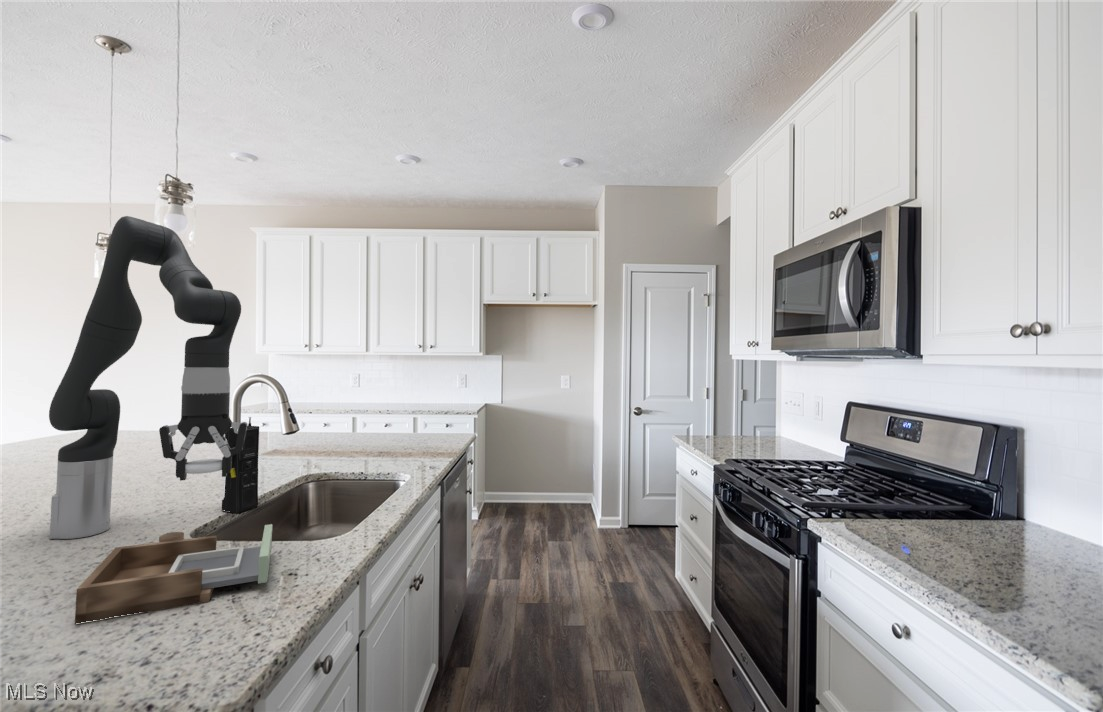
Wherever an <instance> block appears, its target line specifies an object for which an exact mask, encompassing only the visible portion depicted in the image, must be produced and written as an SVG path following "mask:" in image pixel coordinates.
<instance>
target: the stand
mask: <svg viewBox="0 0 1103 712" xmlns="http://www.w3.org/2000/svg"><path fill="white" fill-rule="evenodd" d="M183 539H185V533H184V532H183V531H173V532H169V533H168V532H167V533H164V534H162V535H159V537H158V542H166V541H174V540H183Z"/></svg>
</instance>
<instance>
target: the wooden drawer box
mask: <svg viewBox="0 0 1103 712" xmlns="http://www.w3.org/2000/svg"><path fill="white" fill-rule="evenodd" d="M217 536H218V535H209V536H200V537H193V538H184V539H183V540H174V541H166V542H159V541H158V542H157V541H156V542H151V543H150V542H149V543H144V544H143V543H142V544H134V545H125V546H115V548H114V549H113V550H112V551H111V552H110V553H109V554H108V555H107V556H106V557H105V558H104V559H103V561H101V562H100V563H99V564H98V566H97V567H96V568H95V569H94V570H93V571H91V573H90V575H88V576H87V577H86V578H85V580H84V581H83V582H82V583H81V584H80V585H79V586H78V587H77V588H76V593H75V594H76V597H75V613H74V615H75V616H74V625H75V624H76V623H81V622H86V621H93V620H100V619H105V618H109V617H114V616H121V615H127V614H134V613H139V612H146V613H149V612H148V611H152V612H157V611H156V610H158V611H163V610H168V609H173V608H174V607H175V608H180V607H185V606H192V605H198V604H202V603H203V604H204V603H208V602H210V600H211V597H212V595H213V592H214V589H215V588H209V589H203V590H202V571H203V568H200V569H193V570H186V571H179V572H172V573H168V572H169V570H170V569H171V567H172V565H173V563H174V562H175V560H176V558H177V557H178V555H182V554H190V553H197V552H205V551H213V550H217V539H218V537H217ZM100 621H101V620H100Z"/></svg>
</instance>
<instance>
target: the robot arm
mask: <svg viewBox="0 0 1103 712" xmlns="http://www.w3.org/2000/svg"><path fill="white" fill-rule="evenodd" d="M105 253H106V254H105V258H104V262H103V265H102V269H101V274H100V278H99V281H98V284H97V287H96V290H95V293H94V295H93V298H92V300H91V302H90V305H89V308H88V310H87V312H86V315H85V318H84V321H83V323H82V327H81V330H80V334H79V337H78V341H77V343H76V347H75V349H74V352H73V354H72V357H71V360H70V362H69V364H68V367H67V368H66V371H65V373H64V375H63V377H62V378H61V381H60V383H59V385H58V387H57V388H56V391H55V393H54V395H53V397H52V400H51V403H50V406H49V412H48V418H49V423H50V425H51V427H53V428H54V429H55V430H58V431H61V432H73V431H82V430H84V431H85V430H86V432H85V434H84V435H83V436H82V437H80V438H79V439H76V440H75V441H73V442H71V443H68V444H66V445H62V447H60V448H59V450H58V453H57V465H56V466H57V469H56V489H55V494H54V495H52V496H51V502H50V520H49V521H50V523H49V524H50V525H49V538H48V539H49V540H52V539H54V540H55V539H57V540H70V539H71V540H72V539H79V538H86V537H91V536H95V535H98V534H101V533H104V532H106V531H108V530H109V529H110V527H111V525H110V523H111V508H112V507H111V506H112V490H113V489H112V487H113V467H114V451H115V449H116V445H117V442H118V433H119V424H120V420H121V419H120V418H121V402H120V399H119V396H118V393H116V392H115V391H114V390H111V389H106V388H105V389H104V388H102V389H97V388H96V389H91V388H92V386H93V385H94V383H95V382H96V381H97V379H98V377H100V375H101V374H103V373H104V372H105V371H106V370H107V369H108V368H110V367H111V366H113V364H115V363H116V362H117V361H119V360H120V359H121V358H122V357H123V356H125V355H126V354H127V353H128V352H129V351H130V350H131V349H132V347H133V346H134V345H135V342H136V340H137V337H138V335H139V332H140V329H141V326H142V322H143V316H142V312H141V309H140V307H139V305H138V303H137V299H136V298H135V296H134V293H133V292H132V289H131V286H130V283H129V278H128V276H129V266H130V264H131V262H132V261H133V262H138V263H143V264H147V265H151V266H159V267H160V268H159V271H158V276H159V277H158V278H159V280H160V282H161V284H162V286H163V287H164V289H166V290H167V292H168V293H169V294H170V295H171V297H172V300H173V308H174V309H173V310H174V313H175V315H176V317H177V318H178V319H180V320H182V321H183V322H185V323H187V324H192V325H194V324H195V325H205V326H206V325H209V326H213V328H212V330H211V332H210V333H209V334H208V335H200V336H194V337H190V338H187V340H186V341H185V344H184V364H183V365H184V368H183V369H184V370H183V375H182V379H181V380H182V383H181V387H180V390H181V410H180V412H181V415H180V420H179V422H178V423H177V424H172V425H171V424H170V425H168V424H166V425H163V426H160V428H159V431H158V432H159V437H160V444H161V451H162V457H163V458H164V459H172V460H174V461H175V476H176V478H177V479H178V478H179V481H186V479H187V477H188V475H187V474H188V473H185V464H186V463H187V462H188V459H187V457H186V456H187V454H188V453H189V451H190V450H191V448H192V447H193V445H201V444H216V446H217V447H218V449H219V450H220V452H221V453H222V455H223V457H222V458H221V459H222V470H221V478H222V477H223V478H225V477H226V476H227V473H230V471H231V469H232V456H233V455H235V454H237V453H240V452H241V451H242V450H243V445H244V440H245V435H246V430H247V426H248V423H247V422H246V421H242V422H234V421H232V419H231V418H230V400H231V399H230V397H231V396H230V394H231V376H230V348H231V345H232V344H231V343H232V341H233V337H234V334H235V331H236V328H237V325H238V323H239V321H240V318H241V314H242V305H241V300H240V299H239V298H238V296H237V295H236V294H235V293H233V292H231V291H228V290H221V289H214V286H213V284H212V282H211V281H210V280H209V278H208V277H207V276H206V275H205V274H204V273H203V272H202V271H201V270H200V269H199V268H198V266H196V265H195V264H194V263H193V261H192V259H191V257H190V255H189V253H188V250H187V249H186V247H185V245H184V243H183V241H182V239H181V238H180V237H179V235H178V234H177V232H175V231H174V230H172V229H171V228H169V227H167V226H164V225H160V224H157V223H154V222H151V221H147V220H143V219H140V218H138V217H133V216H128V215H125V216H122V217H120V218H119V219H118V220H117V221H116V222H115V224H114V227H113V228H112V231H111V234H110V237H109V241H108V245H107V250H106V252H105ZM230 428H233V429H234V432H235V433H237V434H238V436H237V441H236V446H235V447H234V448H230V447H229V445H228V443H227V440H226V439H225V433H226V432H227V431H228V430H229V429H230ZM177 430H178V431H179V432H180V433H181V434H182V435H183V437H184V438H185V440H184V441H183V443H182V444H181V446H180V449H179V450H178V451H175V448H174V442H173V437H174V436H175V435H176V434H177V433H176V431H177Z"/></svg>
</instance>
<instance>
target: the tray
mask: <svg viewBox="0 0 1103 712" xmlns="http://www.w3.org/2000/svg"><path fill="white" fill-rule="evenodd" d="M272 542H273V524H272V523H270V524H264V529H263V534H262V539H261V544H260V546H255V547H248V548H246V547H245V546H237V547H229V548H222V549H216V550H213V551H205V552H197V553H190V554H182V555H178V557H177V558H176V560H175V562H174V563H173V565H172V567H171V569H170V570H169V572H168V573H172V572H179V571H186V570H193V569H200V568H203V571H202V590H203V589H209V588H214V589H215V588H221V587H225V586H226V587H227V586H232V585H239V584H240V585H241V584H245V583H251V582H257V584H264V583H268V576H269V570H270V560H271V552H272Z"/></svg>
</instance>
